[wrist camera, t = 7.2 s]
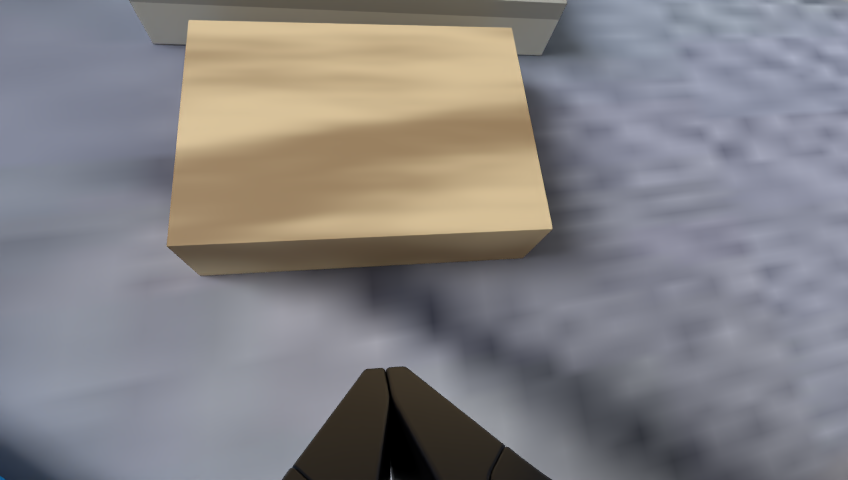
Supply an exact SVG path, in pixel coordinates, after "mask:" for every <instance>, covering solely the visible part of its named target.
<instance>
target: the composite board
mask: <svg viewBox="0 0 848 480" xmlns="http://www.w3.org/2000/svg"><path fill="white" fill-rule="evenodd" d="M129 1H130V3H131V5H132V7H133V8H134V10H135V12H136V14H137V16H138V17H139V19H140V21H141V23H142V25H143V26H144V28H145V30H146V32H147V34H148V35H149V37H150V39H151V41H152V43H153V44H182V45H186V41H187V31H188V21H189V20H208V21H250V22H292V23H334V24H376V25H418V26H461V27H503V28H512V32H513V37H514V42H515V46H516V51H517V55H542V53H543V51H544V49H545V47H546V45H547V43H548V41H549V39H550V37H551V35H552V33H553V31H554V29H555V27H556V25H557V23H558V21H559V19H560V17H561V15H562V13H563V11H564V9H565V7H566V5H567V0H129Z"/></svg>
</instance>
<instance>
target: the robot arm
mask: <svg viewBox="0 0 848 480" xmlns="http://www.w3.org/2000/svg"><path fill="white" fill-rule="evenodd" d="M391 475H392V480H552V479H550V478H549V477H547V476H546V475H544V474H543V473H541V472H540V471H539V470H537V469H536V468H535V467H533V466H532V465H531V464H529V463H528V462H527V461H525V460H524V459H523V458H521V457H520V456H519V455H518V454H516V453H515V452H514V451H513V450H511V449H510V448H509V447H505V445H504V444H503V443H501V442H500V441H499V440H498V439H496V438H495V437H494V436H492V435H491V434H490V433H489V432H487V431H486V430H485V429H484V428H482V427H481V426H480V425H479V424H477V423H476V422H475V421H474V420H472V419H471V418H470V417H468V416H467V415H466V414H465V413H463V412H462V411H461V410H460V409H458V408H457V407H456V406H455V405H453V404H452V403H451V402H450V401H448V400H447V399H446V398H445V397H443V396H442V395H441V394H439V393H438V392H437V391H436V390H434V389H433V388H432V387H431V386H429V385H428V384H427V383H426V382H424V381H423V380H422V379H421V378H419V377H418V376H417V375H416V374H414V373H413V372H412V371H410V370H409V369H408V368H406V367H389V368H387V369H386V372H385V370H384V369H383V368H375V369H366V370H364V371H363V373H362V374H361V375H360V377H359V378H358V379H357V381H356V382H355V383H354V385H353V386H352V387H351V389H350V390H349V391H348V393H347V394H346V395H345V397H344V398H343V400H342V401H341V402H340V404H339V405H338V406H337V408H336V409H335V410H334V412H333V413H332V414H331V416H330V417H329V418H328V420H327V421H326V422H325V424H324V425H323V426H322V428H321V429H320V430H319V432H318V433H317V434H316V436H315V437H314V438H313V440H312V441H311V442H310V444H309V445H308V446H307V448H306V449H305V450H304V452H303V453H302V454H301V456H300V457H299V458H298V460H297V461H296V462H295V464H294V465H293V467H292V468H290V469H289V471H288V472H287V473H286V475H285V476H284V477H283V479H282V480H390V478H391Z"/></svg>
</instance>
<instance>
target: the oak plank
mask: <svg viewBox="0 0 848 480" xmlns="http://www.w3.org/2000/svg"><path fill="white" fill-rule="evenodd" d="M552 229H553V228H552V223H551V218H550V213H549V208H548V203H547V198H546V193H545V189H544V184H543V179H542V174H541V169H540V164H539V159H538V154H537V149H536V144H535V140H534V135H533V130H532V125H531V120H530V115H529V110H528V105H527V100H526V95H525V91H524V86H523V81H522V76H521V71H520V66H519V61H518V56H517V51H516V46H515V42H514V37H513V32H512V28H503V27H461V26H418V25H376V24H334V23H292V22H250V21H208V20H189V21H188V31H187V41H186V52H185V62H184V72H183V83H182V93H181V104H180V114H179V124H178V135H177V145H176V155H175V166H174V176H173V186H172V197H171V207H170V217H169V228H168V238H167V247H168V248H169V249H170V250H172V251H173V252H174V253H175V254H176V255H177V256H178V257H179V258H181V259H182V260H183V261H184V262H185V263H186V264H187V265H188V266H190V267H191V268H192V269H193V270H194V271H195V272H196V273H197V274H199V275H200V276H205V275H224V274H242V273H260V272H279V271H297V270H315V269H334V268H352V267H370V266H389V265H407V264H425V263H444V262H462V261H480V260H499V259H517V258H524V257H525V256H526V255H527V254H528V253H529V252H530V251H531V250H532V249H533V248H534V247H535V246H536V245H537V244H538V243H539V242H540V241H541V240H542V239H543V238H544V237H545V236H546V235H547V234H548V233H549V232H550V231H551V230H552Z"/></svg>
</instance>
